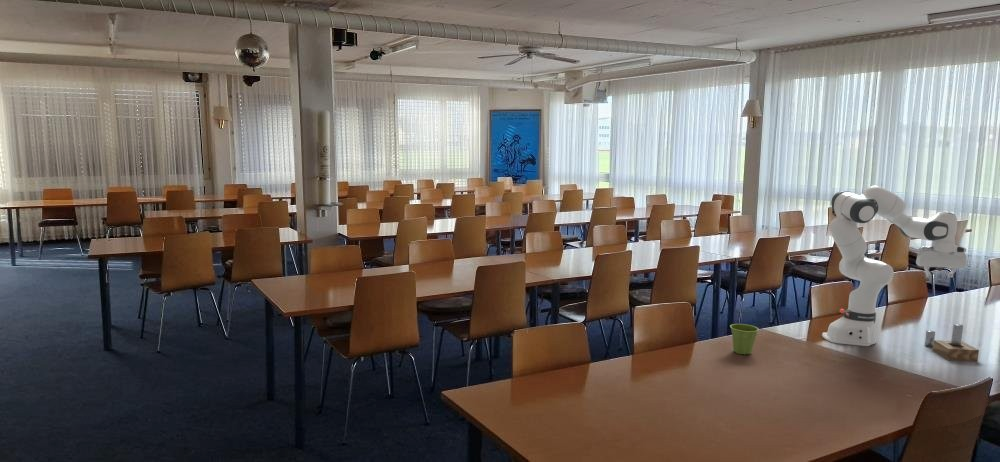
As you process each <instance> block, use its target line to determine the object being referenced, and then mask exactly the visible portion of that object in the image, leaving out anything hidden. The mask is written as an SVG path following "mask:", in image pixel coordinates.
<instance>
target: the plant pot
mask: <svg viewBox="0 0 1000 462" xmlns="http://www.w3.org/2000/svg"><path fill="white" fill-rule="evenodd" d="M729 327H730V331H731V335H732V347H733V349H732V350H733V352H734V353H736V354H738V355H742V354H744V355H751V354H752V351H753V347H754V343H755V339H756V336H757V334H758V332H759V331H760V328H758V327H757V326H755V325H750V324H747V323H746V324H744V323H734V324H733V323H732V324H730V325H729Z"/></svg>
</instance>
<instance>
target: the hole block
mask: <svg viewBox="0 0 1000 462" xmlns="http://www.w3.org/2000/svg"><path fill="white" fill-rule="evenodd" d="M932 352H934V353H935V354H937V355H938V356H940V357H942V358H943V359H945V360H947V361H958V362H959V361H963V362H964V361H965V362H977V361H979V352H980V350H979V349H978V348H976V347H974V346H972V345H970V344H968V343H966V342H964V341H962V340H961V347H953V346H951V340H939V339H938V340H937V339H935V340H934V343H933V347H932Z"/></svg>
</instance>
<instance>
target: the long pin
mask: <svg viewBox="0 0 1000 462" xmlns="http://www.w3.org/2000/svg"><path fill="white" fill-rule="evenodd" d="M963 331H964V325H962V324H959V323H953V326H952V334H951V340H950V341H951V346H953V347H961V341H962V340H963V339H962V337H963Z"/></svg>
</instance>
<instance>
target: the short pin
mask: <svg viewBox="0 0 1000 462" xmlns="http://www.w3.org/2000/svg"><path fill="white" fill-rule="evenodd" d="M924 337H925V338H924V346H925V347H926V348H933V343H934V340H936V331H934V330H930V329H929V330H927V329H926V331H925V336H924Z"/></svg>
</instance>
